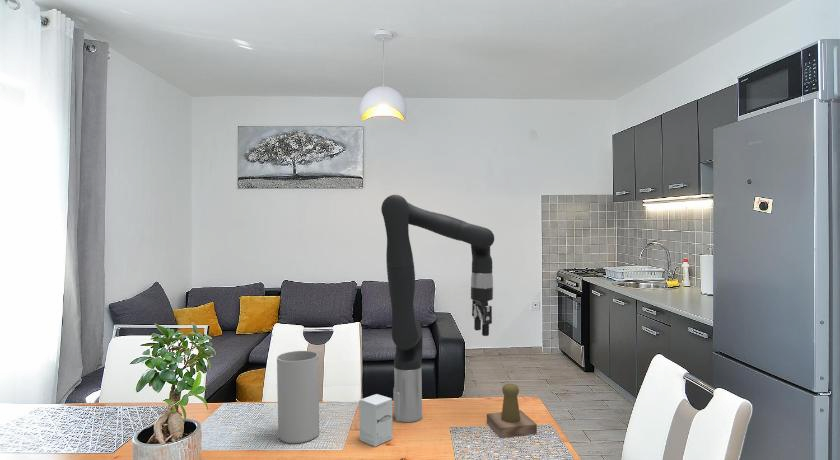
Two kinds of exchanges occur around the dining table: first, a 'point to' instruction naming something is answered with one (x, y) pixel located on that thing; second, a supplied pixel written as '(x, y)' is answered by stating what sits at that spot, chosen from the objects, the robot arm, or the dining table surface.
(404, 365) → the robot arm
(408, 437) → the dining table surface
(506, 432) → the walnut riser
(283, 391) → the cylinder vase
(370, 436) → the supplement box
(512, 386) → the olive knob-ended peg
